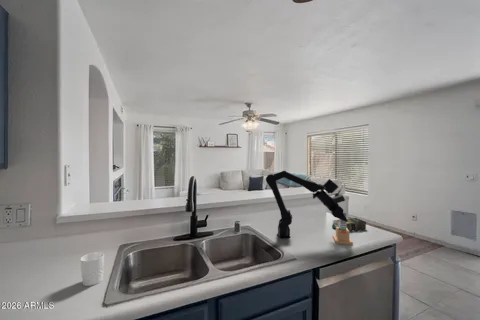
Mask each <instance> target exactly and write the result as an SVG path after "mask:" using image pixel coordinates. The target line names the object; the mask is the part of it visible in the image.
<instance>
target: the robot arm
mask: <svg viewBox="0 0 480 320" xmlns="http://www.w3.org/2000/svg"><path fill="white" fill-rule="evenodd" d="M282 179H287V180H289V181H291V182H293V183H296V184H298V185H300V186H302V187H303V188H305V189H306V190H307V191H310V192H311V193H312V198H313V199H314V200H315V199H316V198H317V200H319V201H320V202H321V203H322V205H324V206H325V207H326V208H327V210H328V211H330V214H331V215H332V216H333V217H334V218H335V219H338V220H339V219H341V220H343V221H346V222H347V221H348V220H347V219H348V218H347V216H346V217H345V215H344V214H343V212H345V211H344V209H343V207H341V206H340V205H339V203H341V202H345V201H346V199H345V197H344V195H343V194H339V193H334V192H335V191H336V190H338V188H339V185H337V183H335V182H333V180H331V179H330V178H328V180H327V181H326V182H324V184H320V183H317V182H316V181H312V180H309V179H304V178H302V177H300V176H297V175H295V174H293V173H291V172H289V171H287V170H282V171H279V172H276V173H274V174H273V173H269V174H268V175H267V176H266V178H265V182H266V183H267V184H268V186H269V188H270V189H271V191H272V194H273V196H274V198H275V201H276V204H277V206H278V210H279V211H280V219H279V220H278V225H277V233H276V235H277V237H279V238H280V239H288V238H291V228H290V225H291V224H292V222H293V220H292V219H293V214H292V213H291V210H290V209H287V207H286V205H285V203H284V200H283V197H282V195H281V192H280V190H279V187H278V181H279V180H282ZM333 193H334V196H333V197H332V196H330V195H329V194H333Z"/></svg>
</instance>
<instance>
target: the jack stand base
mask: <svg viewBox="0 0 480 320" xmlns="http://www.w3.org/2000/svg"><path fill="white" fill-rule="evenodd" d="M350 232H351V231H349V230H348V229H347V228H346V230H339V227H336V229H335V234H333V235H332V239H333V241H334V243H335V244H338V245H352V246H353V245H354V242H353V240H352V239H351V237H350Z"/></svg>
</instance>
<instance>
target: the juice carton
mask: <svg viewBox="0 0 480 320" xmlns="http://www.w3.org/2000/svg"><path fill="white" fill-rule="evenodd" d="M347 220H348V221H347V222H346V228H347V229H348V230H349V231H350V232H355V231H356V232H357V231H365V230H367V222H366V221H364V220H362V219H360V218H357V217H355V218H347ZM336 227H339V219H333V220H332V225H331V228H333V229H335V230H336Z"/></svg>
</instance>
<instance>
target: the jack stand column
mask: <svg viewBox="0 0 480 320" xmlns="http://www.w3.org/2000/svg"><path fill="white" fill-rule="evenodd" d="M343 214H344V215H345V217H346V218H347V212H346V211H343ZM338 220H339V230H346V221H343V220H341V219H339V218H338Z"/></svg>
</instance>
